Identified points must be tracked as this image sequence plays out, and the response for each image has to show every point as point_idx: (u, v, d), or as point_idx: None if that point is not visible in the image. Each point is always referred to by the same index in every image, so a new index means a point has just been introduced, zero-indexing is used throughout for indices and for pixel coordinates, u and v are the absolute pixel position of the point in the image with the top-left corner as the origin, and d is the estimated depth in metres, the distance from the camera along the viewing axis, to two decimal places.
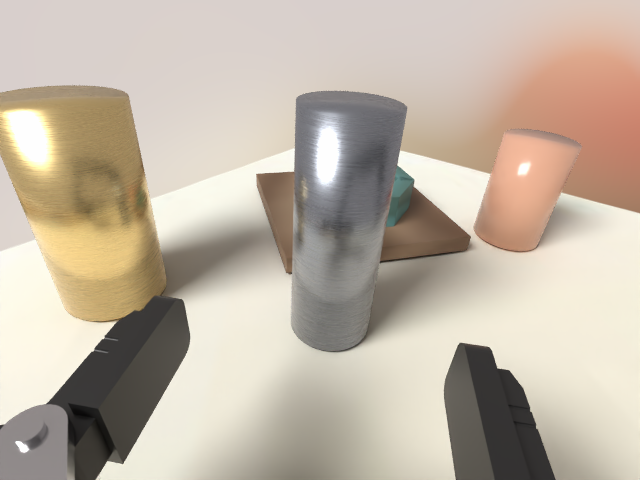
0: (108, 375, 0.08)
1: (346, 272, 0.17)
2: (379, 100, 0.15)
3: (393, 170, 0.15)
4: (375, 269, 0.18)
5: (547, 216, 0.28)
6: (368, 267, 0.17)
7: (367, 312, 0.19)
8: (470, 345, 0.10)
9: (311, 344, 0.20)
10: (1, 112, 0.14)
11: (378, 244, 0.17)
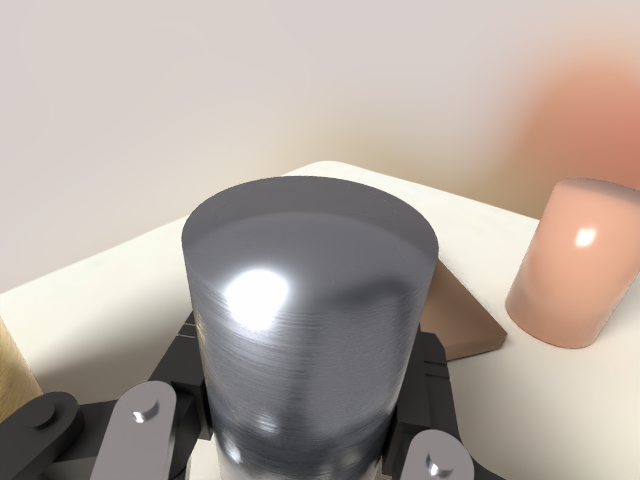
0: None
1: None
2: (375, 210, 0.07)
3: (405, 366, 0.07)
4: None
5: (616, 304, 0.19)
6: None
7: None
8: None
9: None
10: None
11: (374, 471, 0.09)
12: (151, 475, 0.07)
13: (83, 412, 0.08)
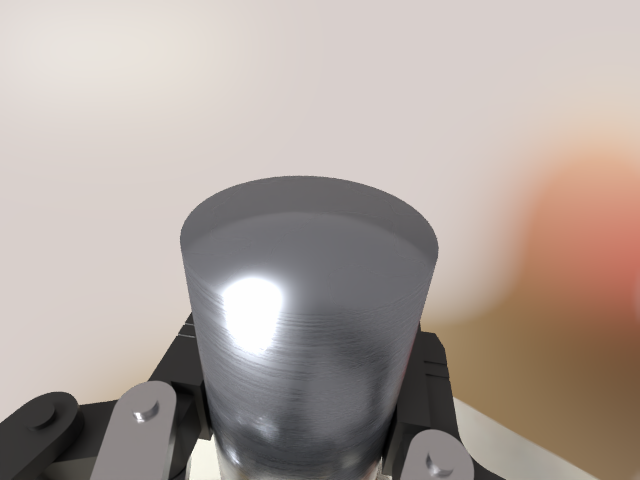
0: None
1: None
2: (374, 210, 0.07)
3: (405, 367, 0.07)
4: None
5: None
6: None
7: None
8: None
9: None
10: None
11: (374, 471, 0.09)
12: (151, 475, 0.07)
13: (83, 412, 0.08)
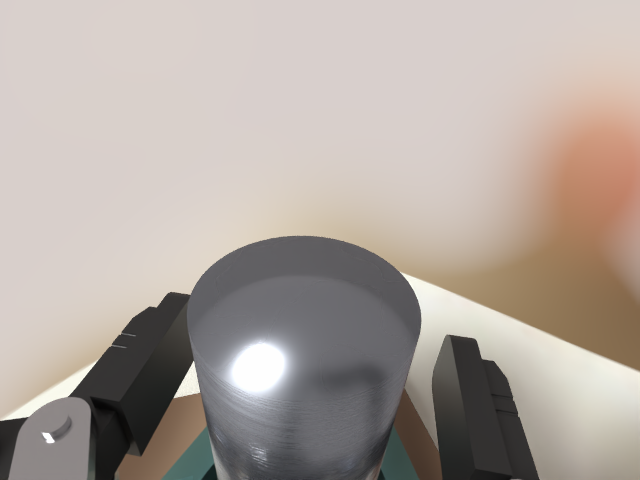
0: (128, 369, 0.08)
1: None
2: (364, 277, 0.08)
3: (392, 423, 0.08)
4: None
5: None
6: None
7: None
8: (456, 337, 0.10)
9: None
10: None
11: None
12: None
13: None
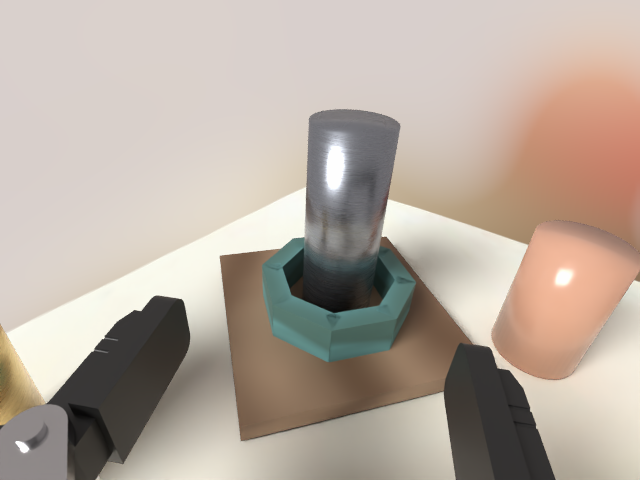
0: (108, 375, 0.08)
1: (351, 261, 0.20)
2: (377, 118, 0.19)
3: (389, 176, 0.18)
4: (374, 259, 0.21)
5: (592, 340, 0.21)
6: (369, 257, 0.20)
7: (368, 295, 0.23)
8: (470, 345, 0.10)
9: None
10: None
11: (377, 237, 0.20)
12: None
13: None
